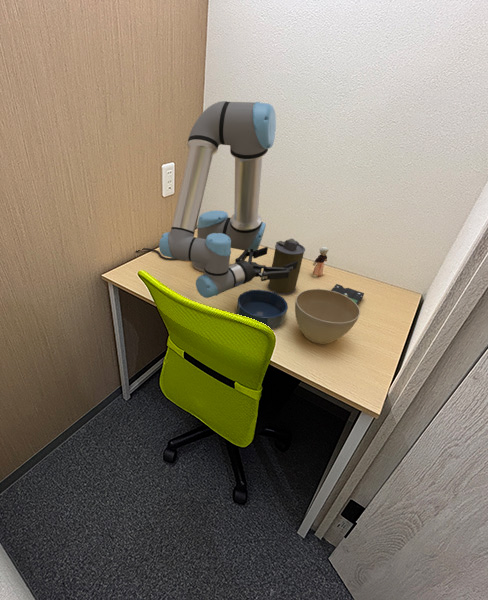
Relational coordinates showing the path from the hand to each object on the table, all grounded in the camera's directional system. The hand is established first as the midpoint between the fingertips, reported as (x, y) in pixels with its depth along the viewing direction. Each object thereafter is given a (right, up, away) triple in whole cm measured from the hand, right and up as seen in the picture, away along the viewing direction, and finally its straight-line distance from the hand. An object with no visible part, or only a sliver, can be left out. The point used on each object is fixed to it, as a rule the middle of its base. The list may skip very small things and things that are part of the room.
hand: (280, 257), depth 121 cm
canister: (+3, -11, +10) cm, 15 cm away
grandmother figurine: (+21, -5, +18) cm, 28 cm away
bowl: (-9, -21, -5) cm, 23 cm away
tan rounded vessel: (+7, -27, -14) cm, 31 cm away
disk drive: (+23, -17, +2) cm, 28 cm away
